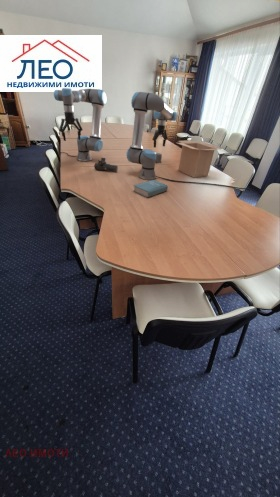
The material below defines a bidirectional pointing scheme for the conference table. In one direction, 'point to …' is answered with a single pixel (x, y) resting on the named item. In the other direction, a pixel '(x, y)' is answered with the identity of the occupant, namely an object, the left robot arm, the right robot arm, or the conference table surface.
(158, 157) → the brick
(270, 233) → the conference table surface
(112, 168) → the laser sight
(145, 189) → the book
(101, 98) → the left robot arm
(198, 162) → the box
